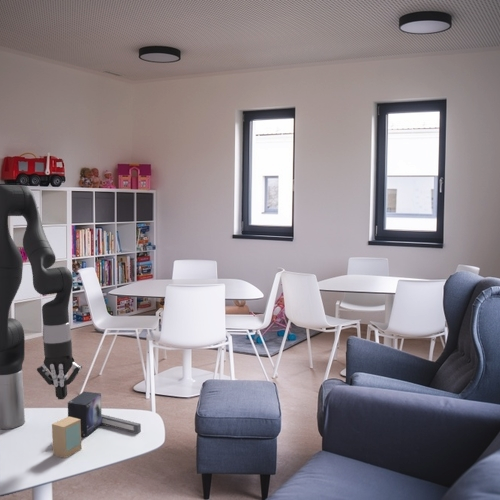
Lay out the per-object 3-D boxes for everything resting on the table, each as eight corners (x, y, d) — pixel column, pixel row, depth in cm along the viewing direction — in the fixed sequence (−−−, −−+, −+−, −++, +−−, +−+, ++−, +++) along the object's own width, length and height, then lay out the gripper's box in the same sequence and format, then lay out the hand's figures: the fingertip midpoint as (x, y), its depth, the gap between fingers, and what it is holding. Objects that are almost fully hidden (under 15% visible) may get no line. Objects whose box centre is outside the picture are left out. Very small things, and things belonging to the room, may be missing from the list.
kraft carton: (53, 454, 186) (51, 424, 185) (70, 446, 191) (68, 416, 190) (65, 458, 184) (63, 427, 182) (81, 449, 189) (80, 419, 188)
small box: (87, 438, 197) (86, 404, 196) (67, 436, 199) (66, 402, 197) (103, 424, 207) (102, 392, 206) (84, 422, 209) (83, 390, 207)
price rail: (83, 419, 211) (83, 412, 211) (86, 418, 212) (86, 410, 212) (137, 433, 200) (137, 425, 200) (140, 431, 202) (140, 423, 201)
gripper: (84, 335, 188) (88, 394, 190) (40, 335, 189) (44, 394, 191) (75, 342, 180) (79, 403, 182) (28, 342, 182) (33, 403, 184)
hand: (61, 398), depth 187 cm, fingers closed
